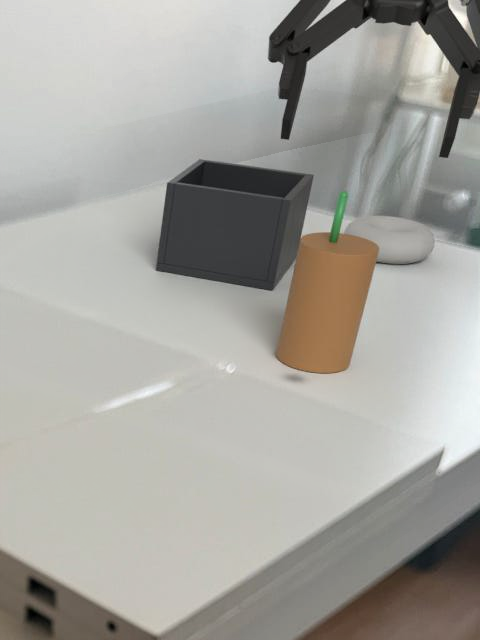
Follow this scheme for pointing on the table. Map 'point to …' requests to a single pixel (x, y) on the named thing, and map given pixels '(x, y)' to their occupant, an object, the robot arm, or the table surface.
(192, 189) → the bin
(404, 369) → the table surface
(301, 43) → the robot arm
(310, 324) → the paper cup
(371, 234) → the donut
